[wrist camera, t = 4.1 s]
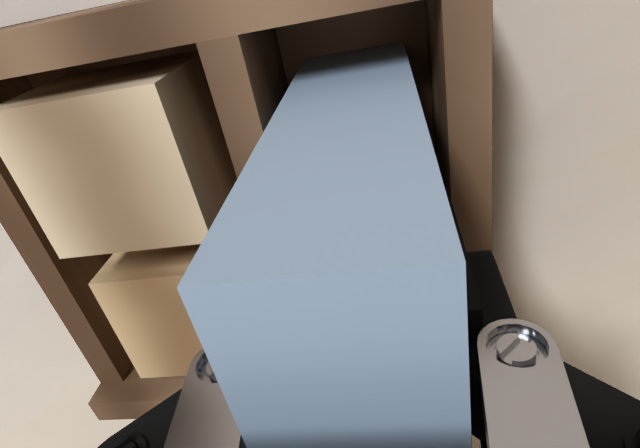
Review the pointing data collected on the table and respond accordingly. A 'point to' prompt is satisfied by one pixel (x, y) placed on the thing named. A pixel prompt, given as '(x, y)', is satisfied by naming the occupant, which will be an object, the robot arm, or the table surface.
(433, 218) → the panel
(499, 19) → the table surface
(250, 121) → the rack
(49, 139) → the offcut
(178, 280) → the offcut
